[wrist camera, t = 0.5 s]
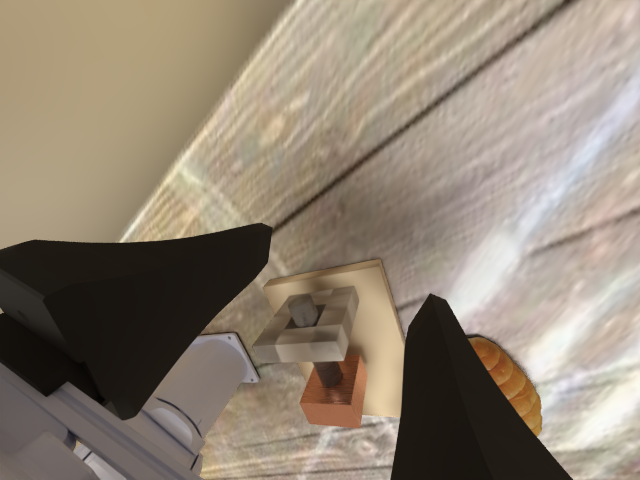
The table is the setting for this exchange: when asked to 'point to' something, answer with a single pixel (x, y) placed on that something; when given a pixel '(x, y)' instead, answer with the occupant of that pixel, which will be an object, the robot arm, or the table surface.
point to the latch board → (365, 328)
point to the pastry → (511, 382)
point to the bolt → (330, 379)
